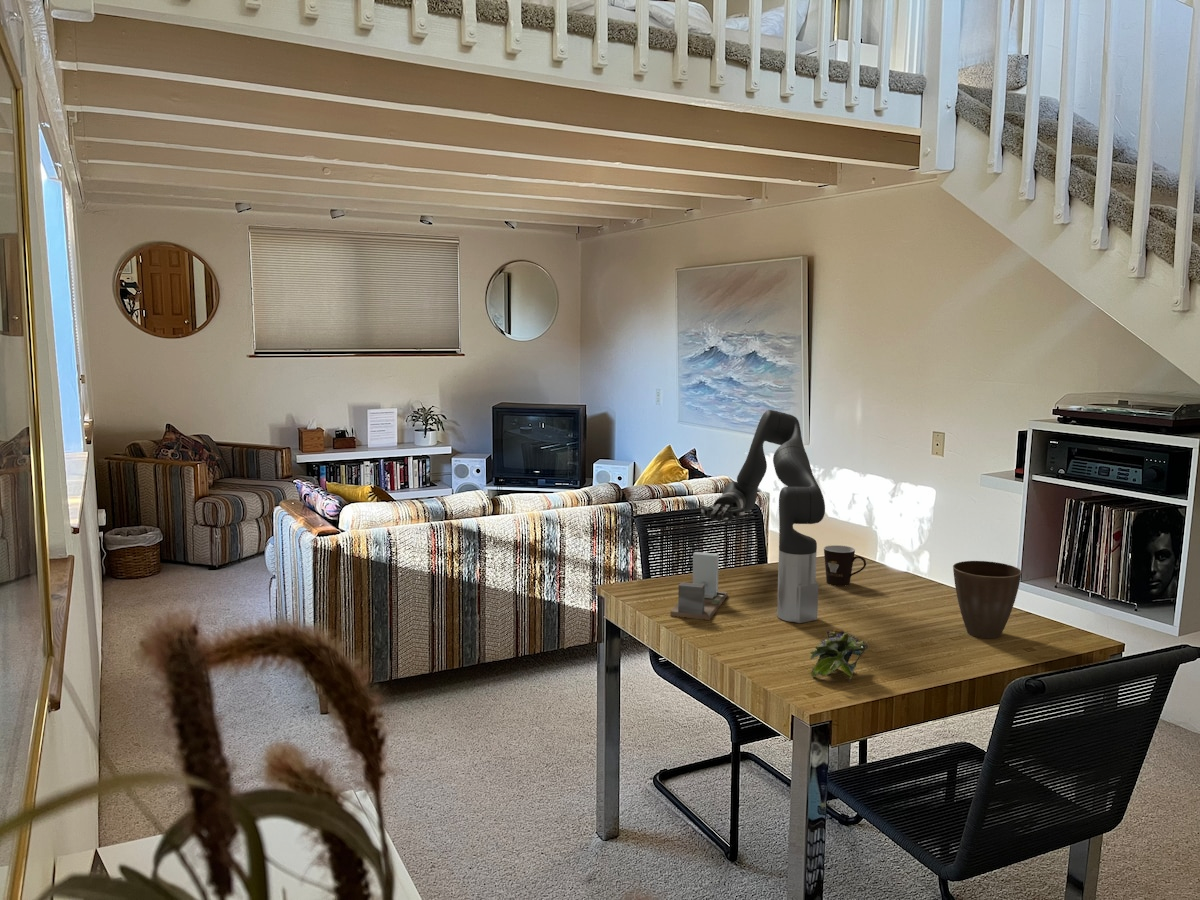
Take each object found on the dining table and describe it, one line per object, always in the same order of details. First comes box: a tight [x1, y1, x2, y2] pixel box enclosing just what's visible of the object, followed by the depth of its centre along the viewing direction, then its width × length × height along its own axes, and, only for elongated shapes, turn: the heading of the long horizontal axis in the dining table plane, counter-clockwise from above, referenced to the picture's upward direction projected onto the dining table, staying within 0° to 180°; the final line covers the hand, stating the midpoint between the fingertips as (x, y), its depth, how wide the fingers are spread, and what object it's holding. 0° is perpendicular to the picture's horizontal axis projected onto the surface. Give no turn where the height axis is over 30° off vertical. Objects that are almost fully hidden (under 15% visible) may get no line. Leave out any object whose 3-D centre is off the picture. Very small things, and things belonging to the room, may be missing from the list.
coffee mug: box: [823, 544, 867, 587], centre depth 259 cm, size 12×9×10 cm
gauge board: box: [670, 581, 728, 621], centre depth 239 cm, size 22×10×8 cm, turn 160°
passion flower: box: [809, 629, 869, 683], centre depth 191 cm, size 11×11×12 cm
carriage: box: [692, 551, 725, 599], centre depth 241 cm, size 8×8×11 cm
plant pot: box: [952, 560, 1022, 639], centre depth 217 cm, size 15×15×16 cm
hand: (716, 517), depth 254 cm, fingers closed
